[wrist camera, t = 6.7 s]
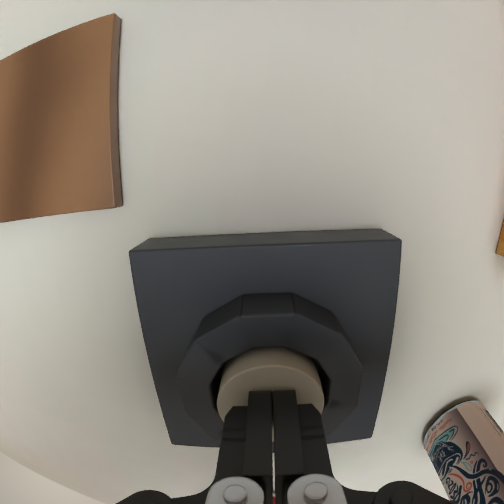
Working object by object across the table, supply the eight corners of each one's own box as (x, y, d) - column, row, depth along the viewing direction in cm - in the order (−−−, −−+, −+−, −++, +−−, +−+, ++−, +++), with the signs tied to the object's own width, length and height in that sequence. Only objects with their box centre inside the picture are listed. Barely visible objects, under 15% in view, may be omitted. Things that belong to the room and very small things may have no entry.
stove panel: (180, 417, 16) (163, 470, 12) (147, 238, 13) (105, 264, 9) (362, 411, 15) (380, 463, 11) (382, 228, 13) (424, 251, 9)
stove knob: (227, 408, 12) (222, 442, 10) (218, 335, 11) (211, 366, 9) (314, 405, 12) (320, 439, 10) (318, 331, 11) (328, 361, 9)
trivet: (-18, 224, 13) (-27, 227, 13) (-19, 78, 11) (-27, 76, 11) (123, 205, 13) (115, 208, 12) (121, 19, 11) (114, 12, 10)
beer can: (431, 405, 15) (515, 560, 4) (489, 388, 15) (580, 509, 3) (413, 454, 16) (466, 592, 5) (467, 438, 16) (532, 553, 5)
